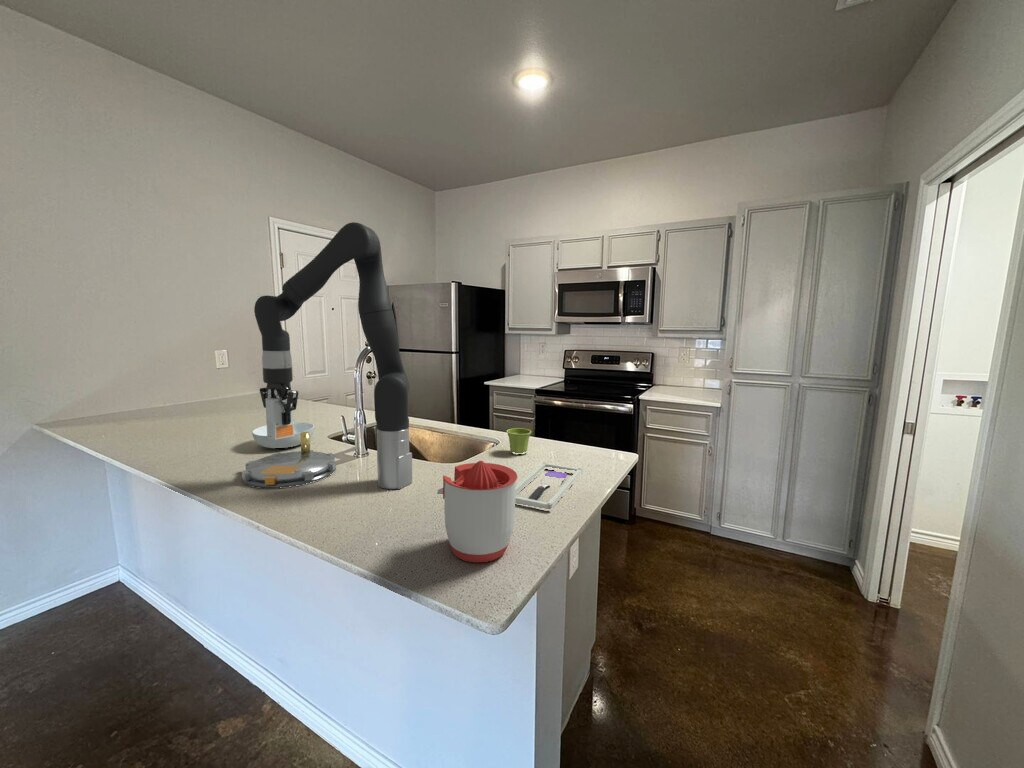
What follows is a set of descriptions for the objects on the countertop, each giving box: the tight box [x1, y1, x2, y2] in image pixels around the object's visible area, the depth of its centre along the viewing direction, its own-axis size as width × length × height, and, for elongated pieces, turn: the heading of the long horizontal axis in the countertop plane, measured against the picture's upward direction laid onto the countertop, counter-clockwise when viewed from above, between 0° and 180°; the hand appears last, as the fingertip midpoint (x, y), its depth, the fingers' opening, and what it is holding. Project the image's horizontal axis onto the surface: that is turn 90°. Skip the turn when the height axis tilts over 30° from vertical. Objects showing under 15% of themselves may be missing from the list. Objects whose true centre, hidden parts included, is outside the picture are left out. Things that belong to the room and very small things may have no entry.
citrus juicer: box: [436, 460, 518, 563], centre depth 90 cm, size 16×17×20 cm
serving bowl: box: [251, 421, 315, 449], centre depth 161 cm, size 21×21×7 cm
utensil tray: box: [515, 462, 583, 509], centre depth 127 cm, size 13×31×2 cm, turn 156°
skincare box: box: [265, 398, 295, 440], centre depth 124 cm, size 6×4×12 cm
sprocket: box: [241, 432, 337, 485], centre depth 132 cm, size 27×27×9 cm
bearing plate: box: [242, 460, 337, 489], centre depth 133 cm, size 26×26×1 cm
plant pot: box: [506, 427, 532, 453], centre depth 159 cm, size 9×9×9 cm
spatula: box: [528, 471, 568, 501], centre depth 124 cm, size 24×7×2 cm, turn 154°
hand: (280, 423), depth 124 cm, fingers closed on skincare box, 4 cm apart
